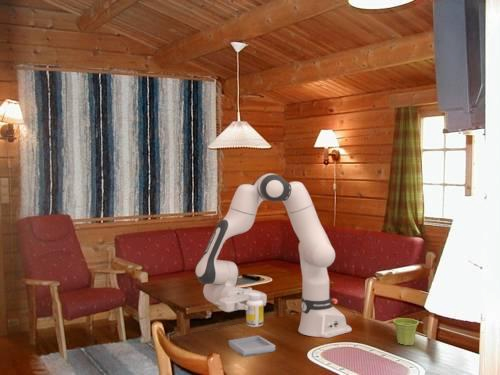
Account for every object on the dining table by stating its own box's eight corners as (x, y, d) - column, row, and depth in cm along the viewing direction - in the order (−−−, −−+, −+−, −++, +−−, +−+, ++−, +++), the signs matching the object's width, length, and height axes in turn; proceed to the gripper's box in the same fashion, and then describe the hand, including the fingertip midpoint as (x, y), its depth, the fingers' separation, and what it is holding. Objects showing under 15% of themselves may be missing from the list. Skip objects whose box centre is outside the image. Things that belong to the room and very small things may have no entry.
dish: (258, 340, 213) (258, 335, 213) (275, 351, 201) (275, 345, 201) (228, 346, 207) (228, 340, 207) (244, 357, 195) (244, 351, 195)
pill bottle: (264, 322, 205) (264, 292, 204) (262, 327, 199) (262, 296, 198) (247, 321, 206) (247, 291, 205) (245, 327, 199) (245, 295, 199)
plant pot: (388, 343, 210) (388, 321, 210) (400, 337, 217) (400, 316, 216) (410, 349, 204) (411, 326, 203) (422, 343, 210) (422, 321, 210)
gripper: (211, 294, 205) (234, 302, 194) (252, 286, 218) (276, 293, 207) (211, 311, 205) (234, 319, 195) (252, 302, 218) (276, 309, 208)
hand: (256, 305), depth 201 cm, fingers closed on pill bottle, 6 cm apart
